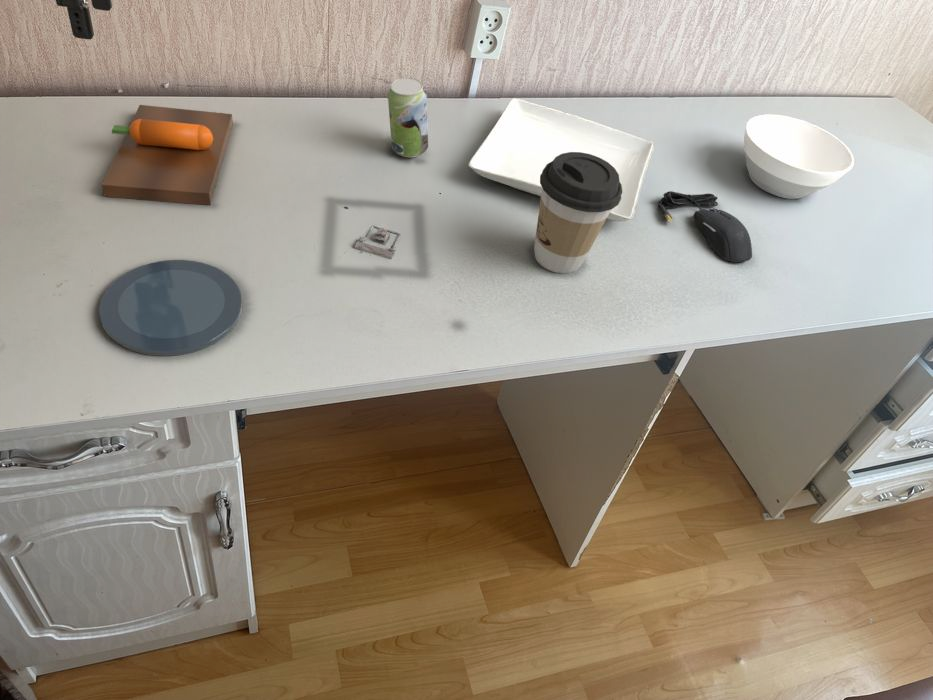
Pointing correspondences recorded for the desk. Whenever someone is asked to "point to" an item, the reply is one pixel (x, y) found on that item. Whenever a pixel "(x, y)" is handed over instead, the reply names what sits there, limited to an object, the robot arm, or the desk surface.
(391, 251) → the metal mounting bracket
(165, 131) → the carrot
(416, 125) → the beverage can
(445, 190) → the desk surface
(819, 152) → the bowl
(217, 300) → the slate plate
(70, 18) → the robot arm
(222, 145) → the cutting board
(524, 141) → the square plate
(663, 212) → the computer mouse
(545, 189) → the coffee cup
